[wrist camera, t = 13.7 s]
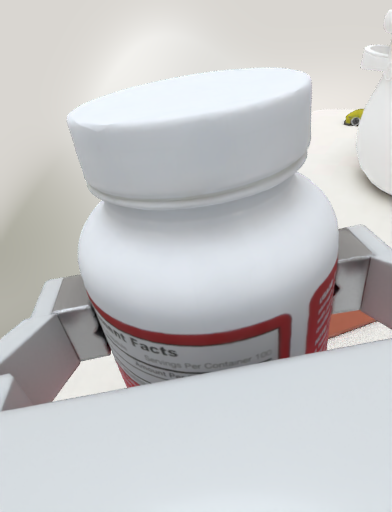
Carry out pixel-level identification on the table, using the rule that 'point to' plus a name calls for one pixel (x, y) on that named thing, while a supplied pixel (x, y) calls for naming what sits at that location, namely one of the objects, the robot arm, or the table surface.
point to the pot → (378, 117)
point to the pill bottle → (205, 223)
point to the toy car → (354, 117)
